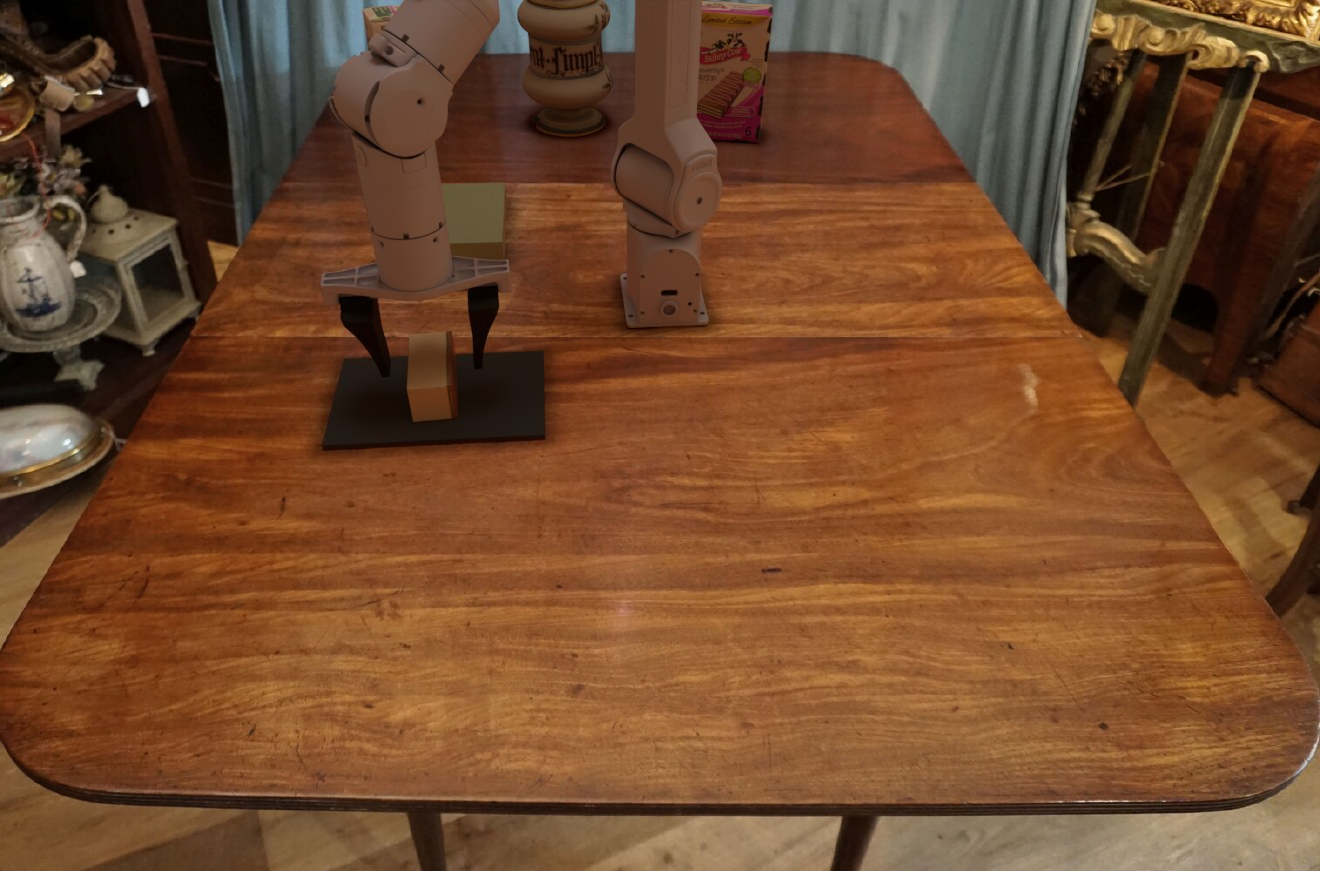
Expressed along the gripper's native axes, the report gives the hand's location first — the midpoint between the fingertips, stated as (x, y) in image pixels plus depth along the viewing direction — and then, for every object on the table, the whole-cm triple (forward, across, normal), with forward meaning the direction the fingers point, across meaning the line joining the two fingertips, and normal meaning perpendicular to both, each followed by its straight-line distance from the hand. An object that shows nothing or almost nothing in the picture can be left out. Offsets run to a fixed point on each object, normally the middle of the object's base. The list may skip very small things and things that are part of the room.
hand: (432, 366), depth 80 cm
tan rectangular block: (+3, 0, 0) cm, 3 cm away
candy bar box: (+4, -37, -52) cm, 64 cm away
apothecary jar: (+4, -18, -58) cm, 61 cm away
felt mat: (+3, 0, +1) cm, 3 cm away
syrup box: (+3, +4, -60) cm, 60 cm away
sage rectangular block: (+3, -2, -29) cm, 30 cm away
